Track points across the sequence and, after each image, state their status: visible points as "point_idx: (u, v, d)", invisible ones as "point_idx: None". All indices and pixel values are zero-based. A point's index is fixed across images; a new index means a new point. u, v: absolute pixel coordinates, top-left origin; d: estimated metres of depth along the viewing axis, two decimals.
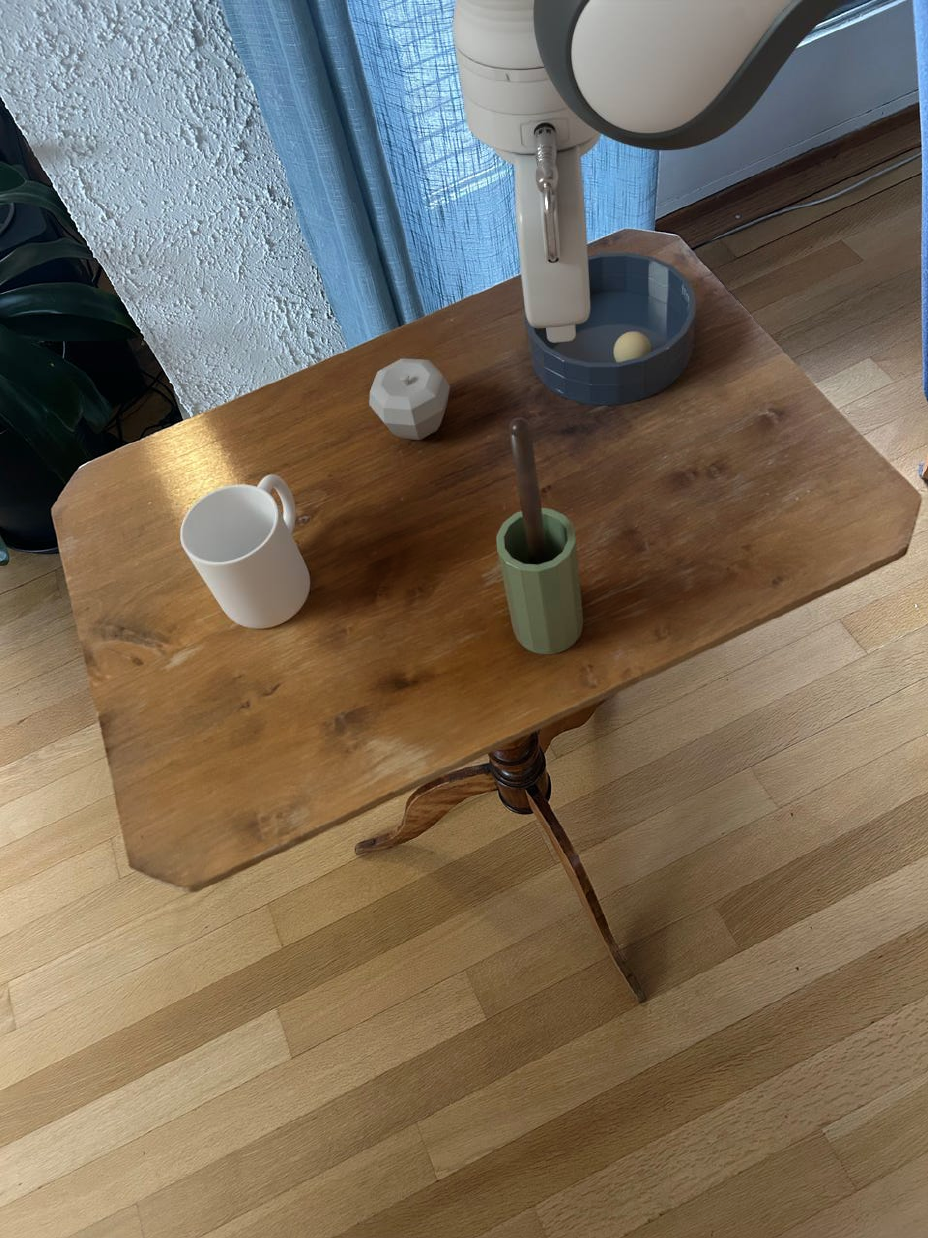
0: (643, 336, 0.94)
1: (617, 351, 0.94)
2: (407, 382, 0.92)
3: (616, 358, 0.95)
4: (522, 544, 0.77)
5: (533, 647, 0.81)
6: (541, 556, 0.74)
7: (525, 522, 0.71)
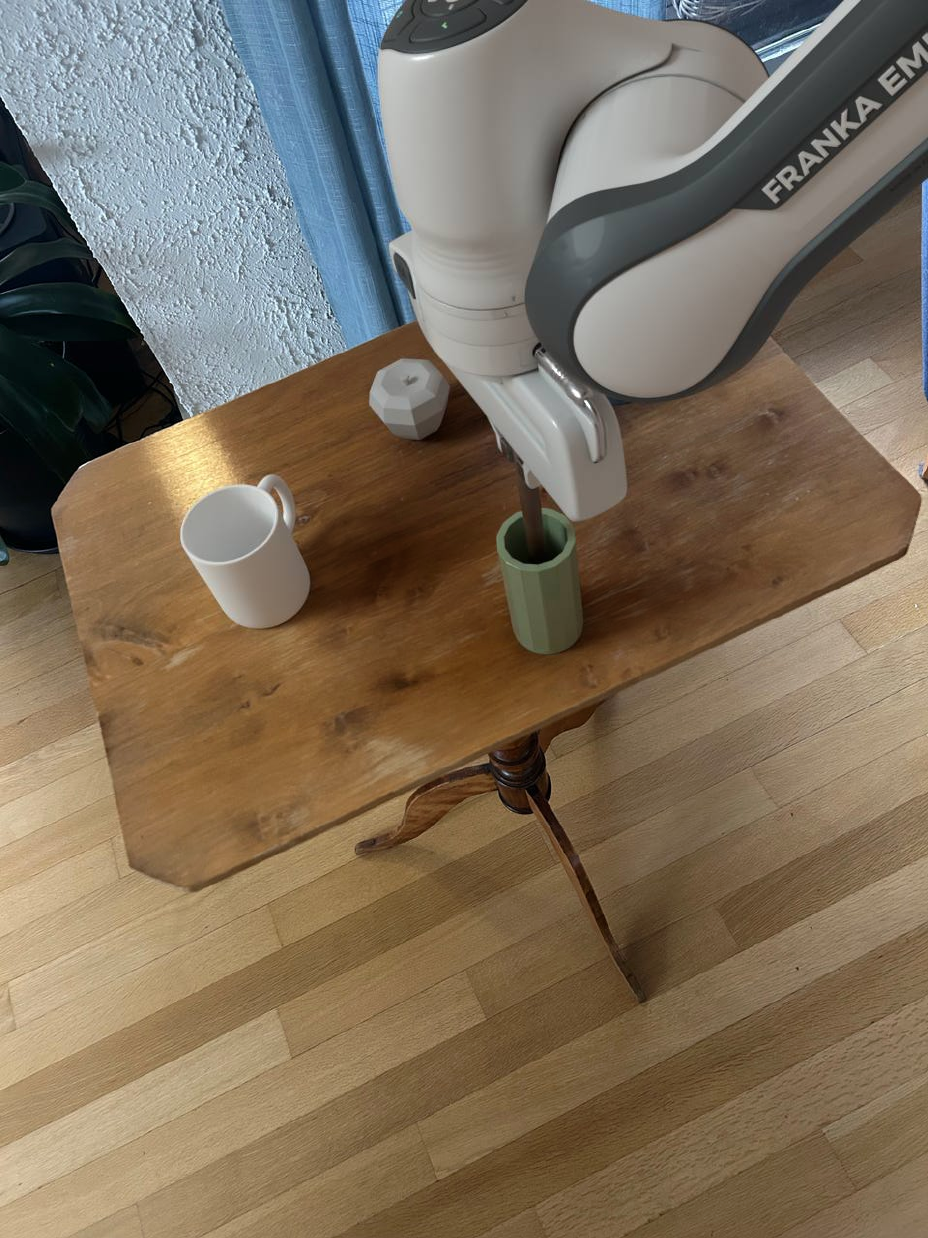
0: None
1: None
2: (407, 382, 0.92)
3: None
4: (522, 544, 0.77)
5: (533, 647, 0.81)
6: (541, 556, 0.74)
7: (525, 522, 0.71)
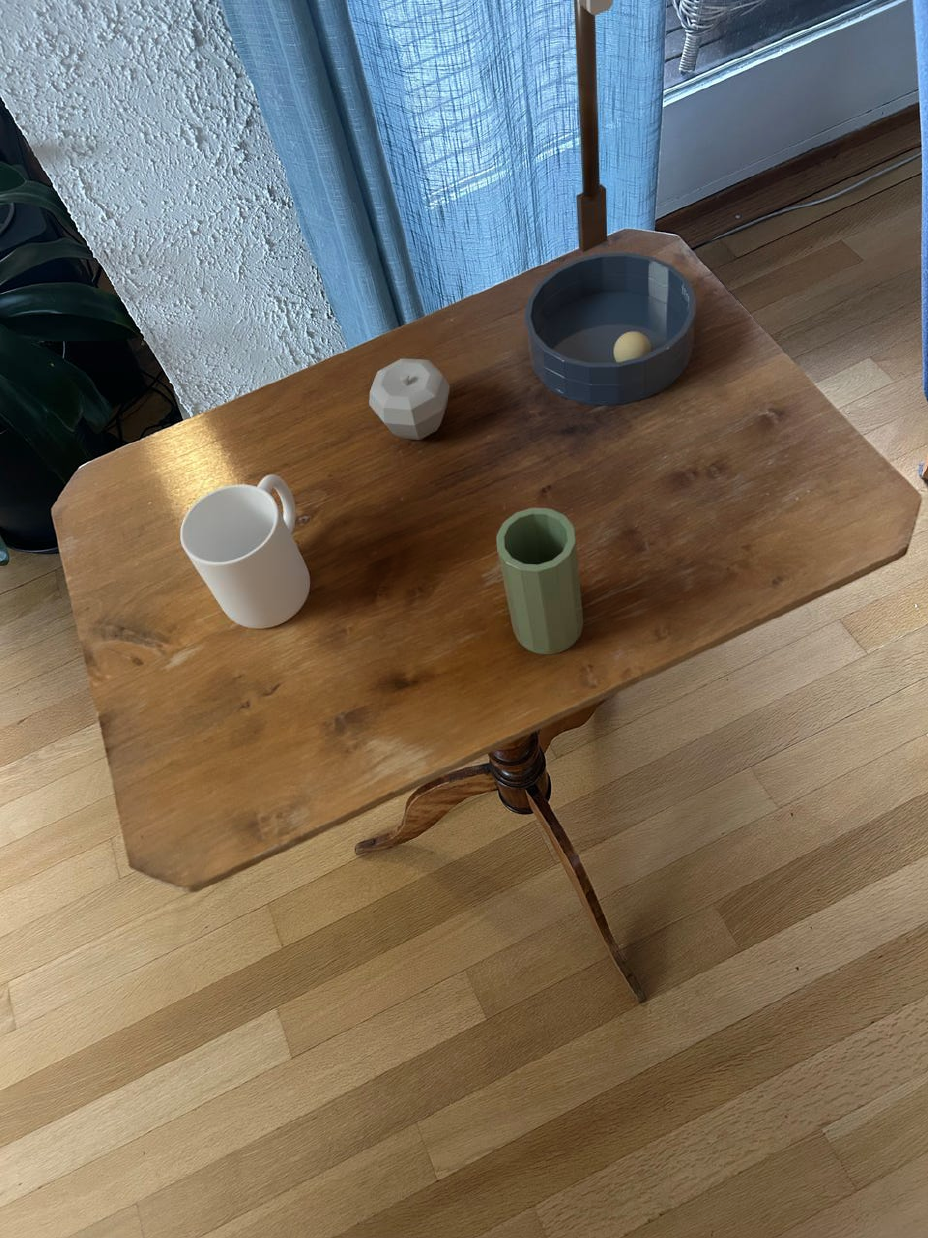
0: (643, 336, 0.94)
1: (617, 351, 0.94)
2: (407, 382, 0.92)
3: (616, 358, 0.95)
4: (522, 544, 0.77)
5: (533, 647, 0.81)
6: (593, 136, 0.75)
7: (580, 86, 0.72)
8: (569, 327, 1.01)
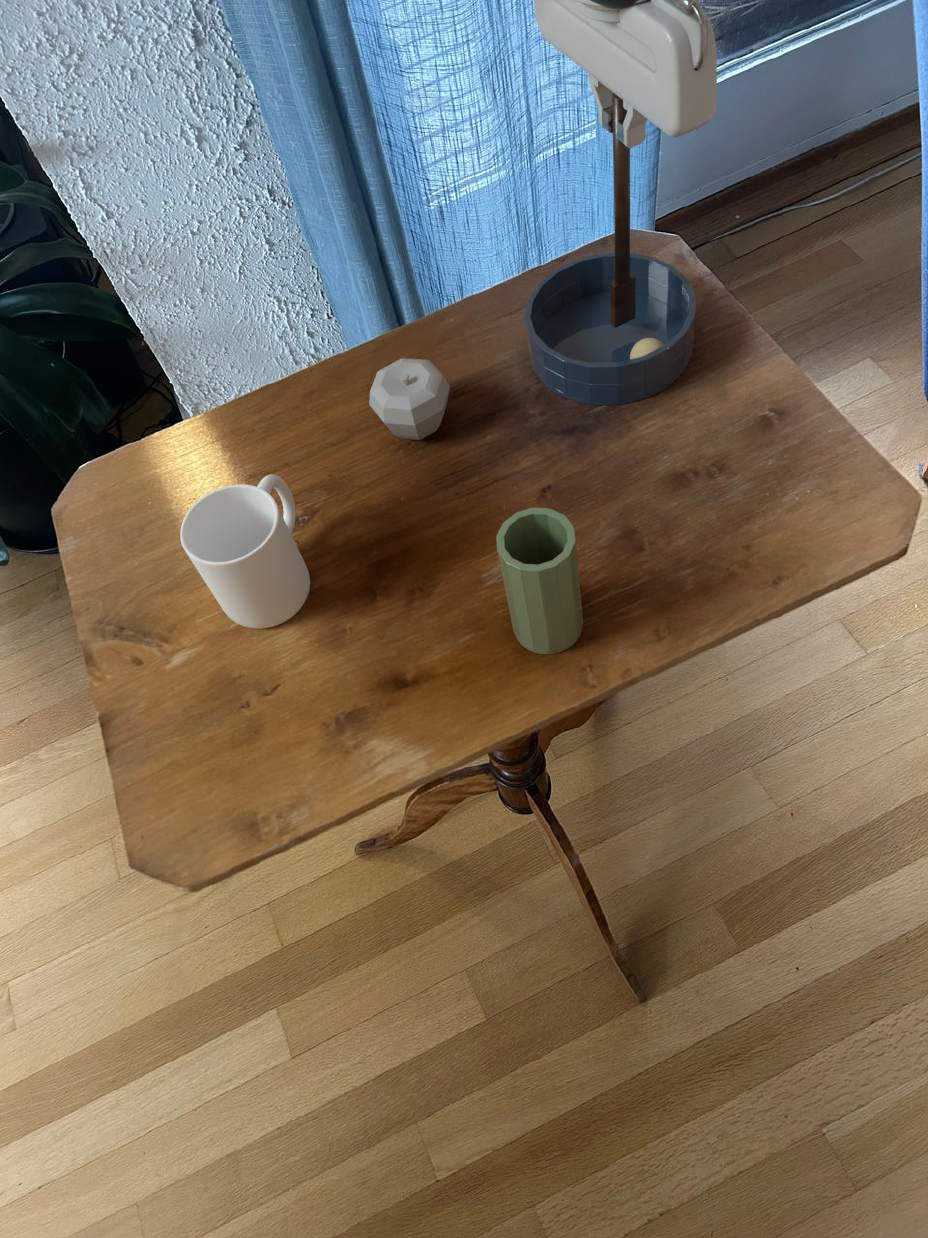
0: None
1: None
2: (407, 382, 0.92)
3: None
4: (522, 544, 0.77)
5: (533, 647, 0.81)
6: (625, 237, 0.89)
7: (616, 198, 0.86)
8: (569, 327, 1.01)
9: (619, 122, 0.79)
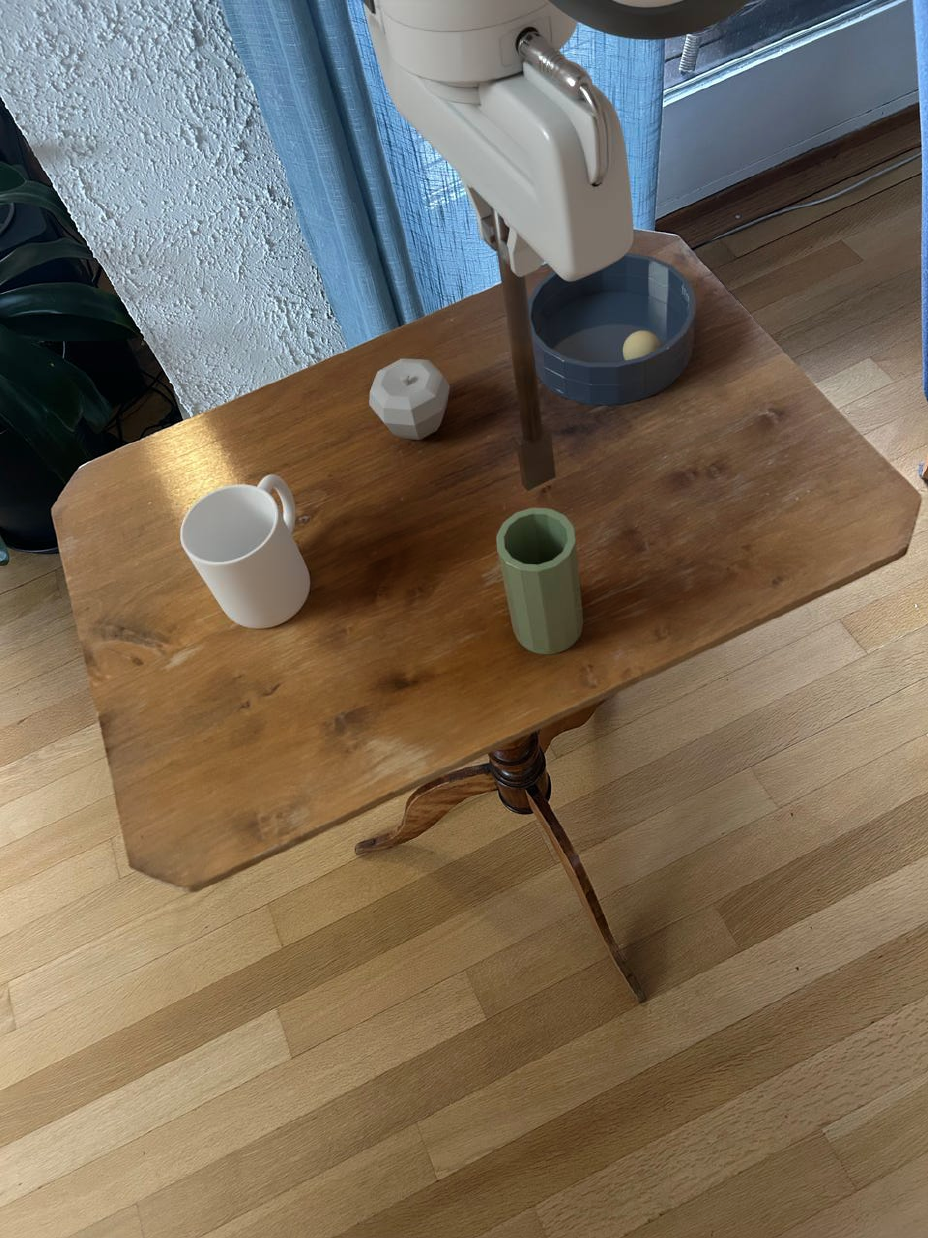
0: (658, 341, 0.94)
1: (630, 344, 0.94)
2: (407, 382, 0.92)
3: (625, 350, 0.95)
4: (522, 544, 0.77)
5: (533, 647, 0.81)
6: (530, 385, 0.63)
7: (511, 337, 0.60)
8: (569, 327, 1.01)
9: (503, 240, 0.54)
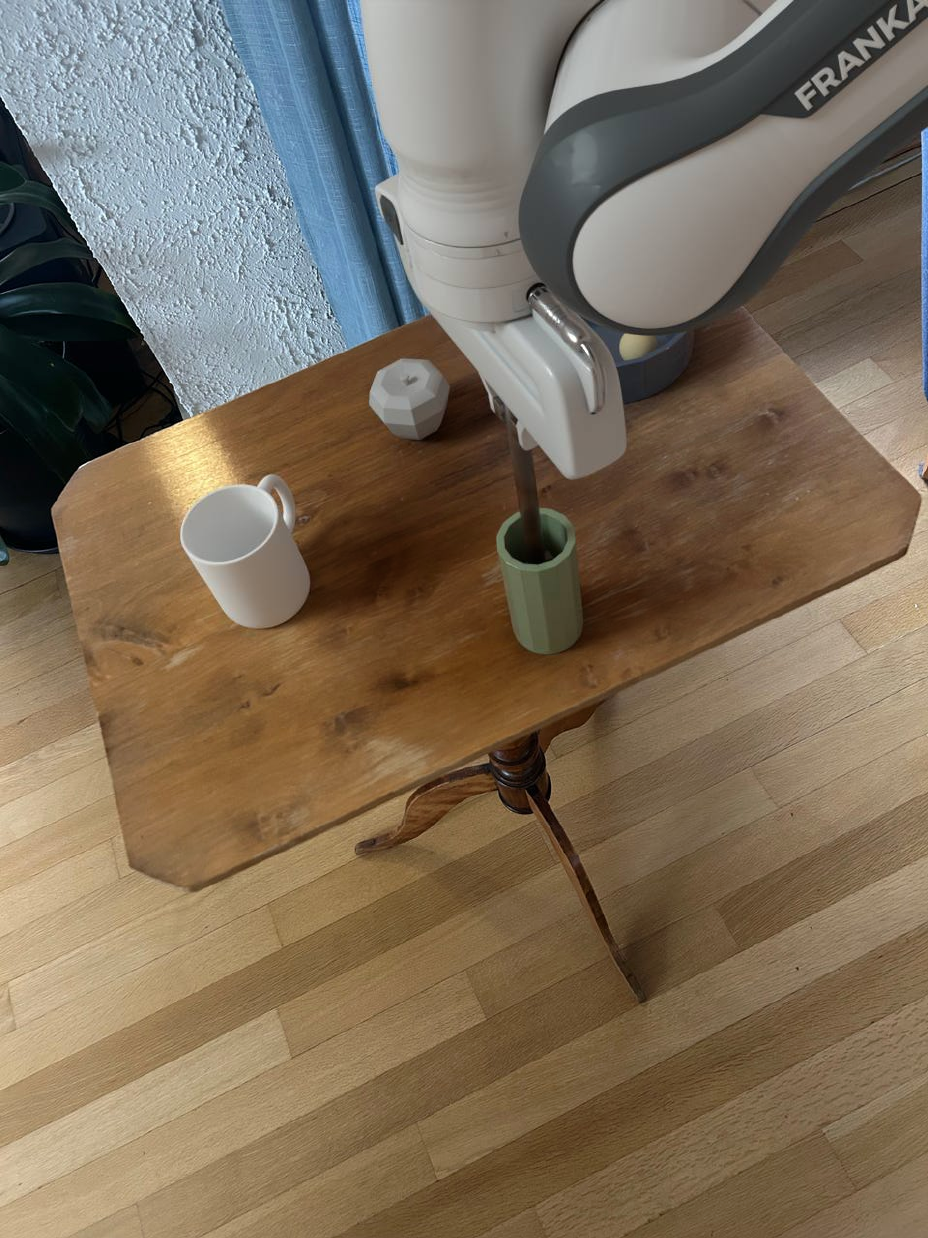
0: None
1: (624, 339, 0.95)
2: (407, 382, 0.92)
3: (620, 346, 0.95)
4: (522, 544, 0.77)
5: (533, 647, 0.81)
6: (535, 526, 0.70)
7: (518, 489, 0.67)
8: None
9: (512, 420, 0.61)
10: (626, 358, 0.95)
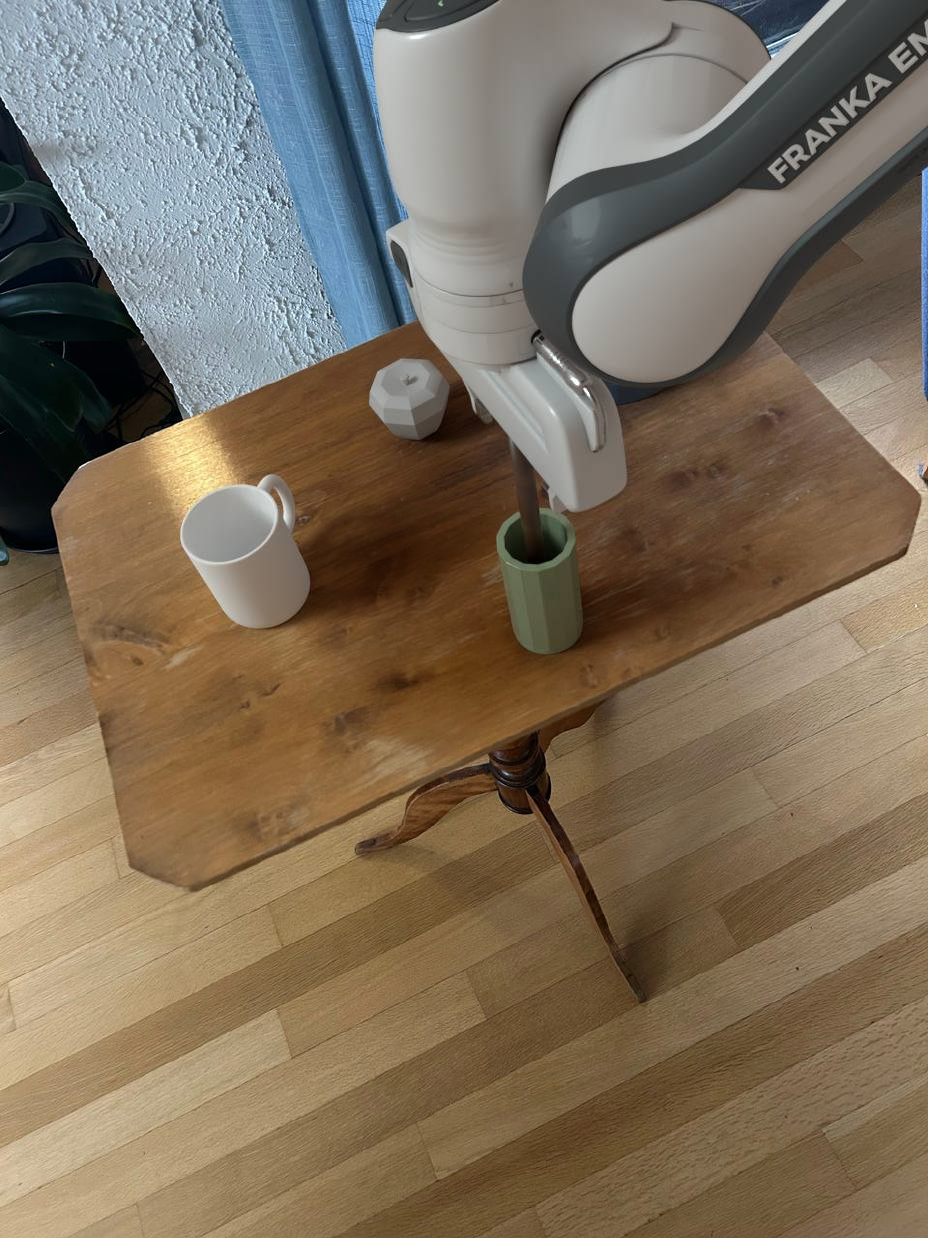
0: None
1: None
2: (407, 382, 0.92)
3: None
4: (522, 544, 0.77)
5: (533, 647, 0.81)
6: (539, 557, 0.74)
7: (523, 523, 0.71)
8: None
9: (543, 485, 0.62)
10: None
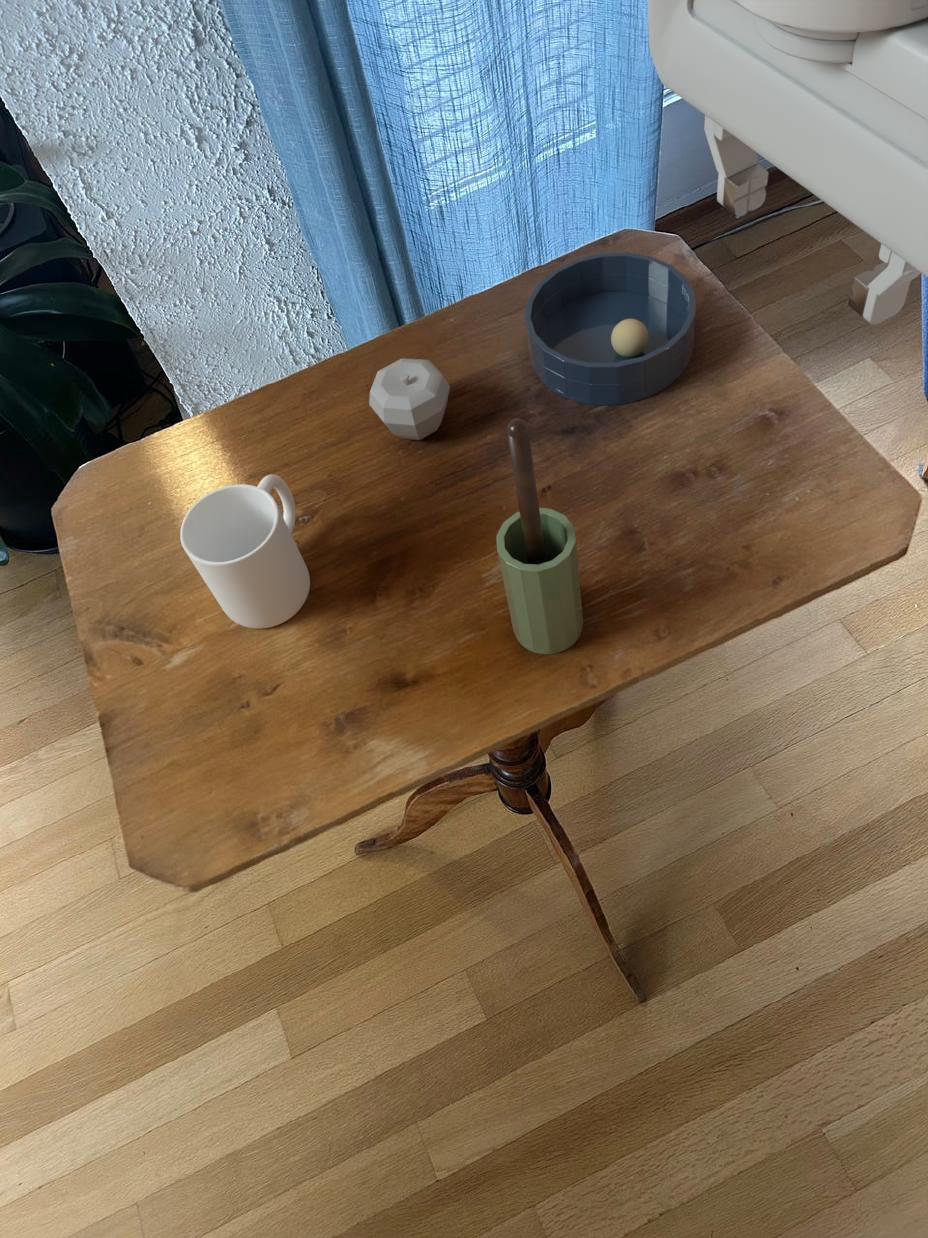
0: (639, 321, 0.96)
1: (612, 332, 0.96)
2: (407, 382, 0.92)
3: (611, 340, 0.96)
4: (522, 544, 0.77)
5: (533, 647, 0.81)
6: (539, 557, 0.74)
7: (523, 523, 0.71)
8: (569, 327, 1.01)
9: (858, 279, 0.41)
10: (617, 345, 0.95)
